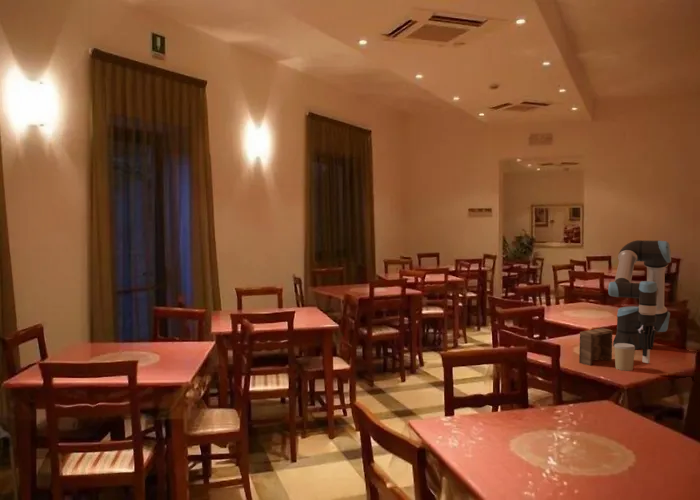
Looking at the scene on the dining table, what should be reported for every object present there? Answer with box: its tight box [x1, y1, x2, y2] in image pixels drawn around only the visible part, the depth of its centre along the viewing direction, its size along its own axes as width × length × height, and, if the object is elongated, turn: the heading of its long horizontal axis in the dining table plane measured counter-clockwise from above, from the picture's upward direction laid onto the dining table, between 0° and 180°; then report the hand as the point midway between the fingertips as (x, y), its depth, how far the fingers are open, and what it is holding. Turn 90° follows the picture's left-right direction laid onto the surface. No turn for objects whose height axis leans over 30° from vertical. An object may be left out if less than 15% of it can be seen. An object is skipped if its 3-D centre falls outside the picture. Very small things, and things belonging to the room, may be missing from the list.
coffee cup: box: [613, 343, 636, 372], centre depth 276 cm, size 9×9×12 cm
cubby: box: [578, 327, 613, 366], centre depth 289 cm, size 18×6×16 cm, turn 121°
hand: (645, 362), depth 266 cm, fingers closed
